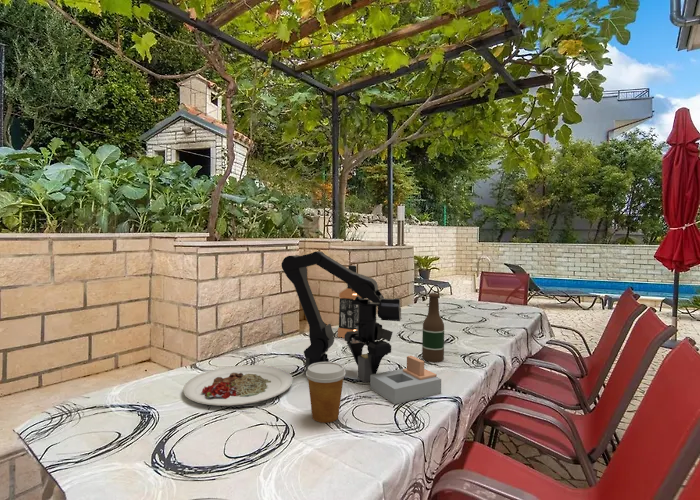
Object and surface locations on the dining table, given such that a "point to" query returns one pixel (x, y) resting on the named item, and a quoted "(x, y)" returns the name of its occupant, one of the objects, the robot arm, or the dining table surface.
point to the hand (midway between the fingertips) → (366, 369)
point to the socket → (403, 386)
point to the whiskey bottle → (347, 309)
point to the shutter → (417, 369)
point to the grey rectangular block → (364, 368)
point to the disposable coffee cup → (325, 390)
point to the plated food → (237, 385)
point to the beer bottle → (433, 332)
